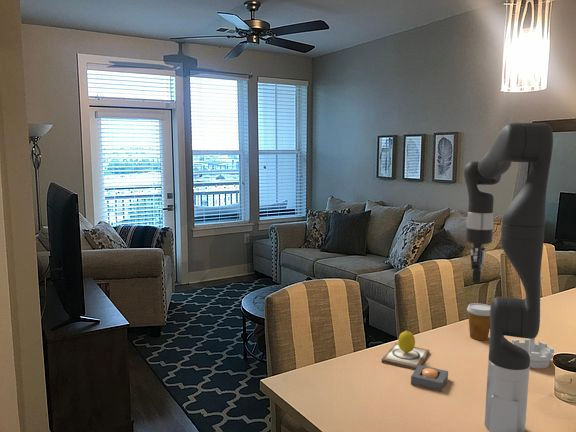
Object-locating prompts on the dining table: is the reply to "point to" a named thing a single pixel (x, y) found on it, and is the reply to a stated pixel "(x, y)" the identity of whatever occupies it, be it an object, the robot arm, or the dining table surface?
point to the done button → (430, 373)
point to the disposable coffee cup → (479, 320)
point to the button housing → (427, 381)
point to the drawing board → (405, 357)
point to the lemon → (406, 341)
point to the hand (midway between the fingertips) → (476, 282)
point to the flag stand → (536, 351)
